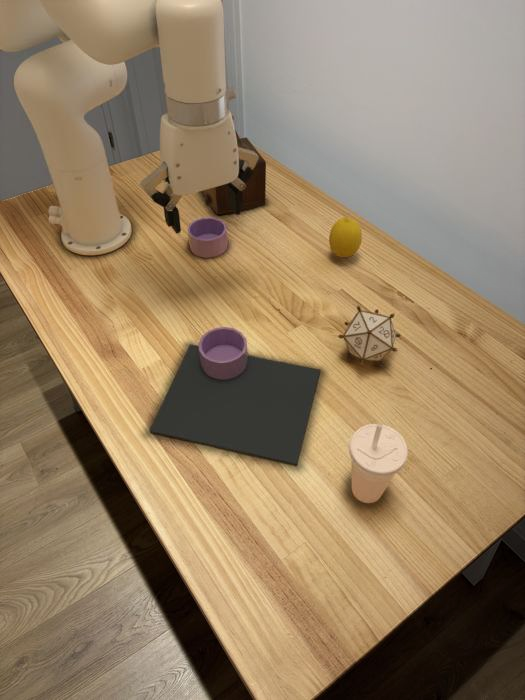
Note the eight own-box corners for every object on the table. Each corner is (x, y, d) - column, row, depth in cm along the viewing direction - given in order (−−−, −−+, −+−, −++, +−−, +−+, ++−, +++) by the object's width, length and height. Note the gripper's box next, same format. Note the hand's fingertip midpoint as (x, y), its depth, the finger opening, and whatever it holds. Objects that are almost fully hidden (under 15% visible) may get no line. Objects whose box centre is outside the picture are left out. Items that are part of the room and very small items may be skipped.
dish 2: (194, 374, 79) (192, 357, 77) (209, 340, 84) (207, 323, 81) (240, 383, 78) (239, 366, 75) (252, 349, 83) (252, 331, 80)
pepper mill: (197, 189, 112) (187, 101, 99) (248, 178, 115) (245, 90, 102) (222, 232, 103) (215, 140, 89) (277, 219, 105) (278, 127, 92)
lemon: (358, 247, 99) (364, 209, 93) (358, 267, 96) (365, 229, 90) (327, 245, 100) (331, 208, 94) (326, 265, 96) (331, 227, 90)
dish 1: (184, 254, 98) (182, 237, 96) (197, 232, 103) (195, 214, 100) (221, 260, 97) (219, 243, 94) (232, 237, 102) (231, 220, 99)
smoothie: (336, 468, 70) (349, 402, 59) (386, 464, 70) (407, 398, 60) (345, 516, 66) (361, 453, 55) (399, 511, 66) (424, 449, 55)
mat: (149, 432, 73) (149, 430, 73) (190, 346, 84) (189, 344, 83) (296, 466, 70) (297, 464, 70) (320, 371, 80) (320, 369, 80)
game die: (372, 364, 86) (420, 323, 81) (364, 391, 79) (415, 347, 74) (330, 326, 85) (375, 282, 80) (317, 349, 78) (366, 302, 73)
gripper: (244, 79, 74) (245, 191, 87) (120, 106, 68) (140, 221, 81) (271, 103, 70) (268, 216, 83) (141, 133, 64) (159, 250, 77)
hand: (204, 218), depth 82 cm, fingers open, 9 cm apart
